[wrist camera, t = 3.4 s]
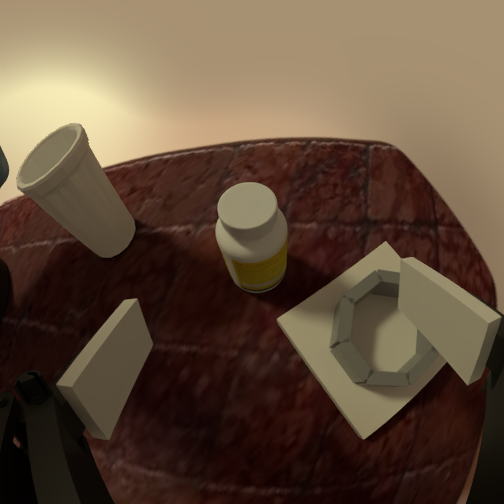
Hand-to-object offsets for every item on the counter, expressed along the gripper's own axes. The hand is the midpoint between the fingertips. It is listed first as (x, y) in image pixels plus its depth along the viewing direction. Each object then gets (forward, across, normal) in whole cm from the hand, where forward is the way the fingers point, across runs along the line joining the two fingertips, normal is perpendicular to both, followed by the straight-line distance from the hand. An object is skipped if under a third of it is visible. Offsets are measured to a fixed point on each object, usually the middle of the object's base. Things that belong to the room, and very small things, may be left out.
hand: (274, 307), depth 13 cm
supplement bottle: (+14, -1, -3) cm, 14 cm away
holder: (+8, +9, -9) cm, 15 cm away
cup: (+18, -17, +2) cm, 25 cm away
